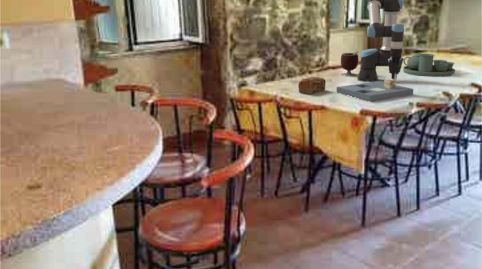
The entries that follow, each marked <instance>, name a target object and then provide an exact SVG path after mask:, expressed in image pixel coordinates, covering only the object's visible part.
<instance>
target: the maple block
mask: <svg viewBox="0 0 482 269" xmlns="http://www.w3.org/2000/svg"><path fill="white" fill-rule="evenodd" d="M383 82H384V88H389V89H390V88H395V85H396V84H395V80H392V79H391V78H389V79H388V78H387V79H384V81H383Z"/></svg>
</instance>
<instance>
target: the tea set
mask: <svg viewBox="0 0 482 269" xmlns="http://www.w3.org/2000/svg"><path fill="white" fill-rule="evenodd" d="M434 57H435V54H431V53H421V52H420V51H419V52H418V53H417V52H416V53H413V54H412V56H405V57H403V58H404V60H403V62H402V63H403V64H404V66H403V70H402V71H403V73H405V74H408V75H414V76H419V77H447V76H453V75H454V74H455V72H456V69H455V68H453V66H454V64H455V62H452V61H448V60H444V59H434ZM405 60H407V62H405Z"/></svg>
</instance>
